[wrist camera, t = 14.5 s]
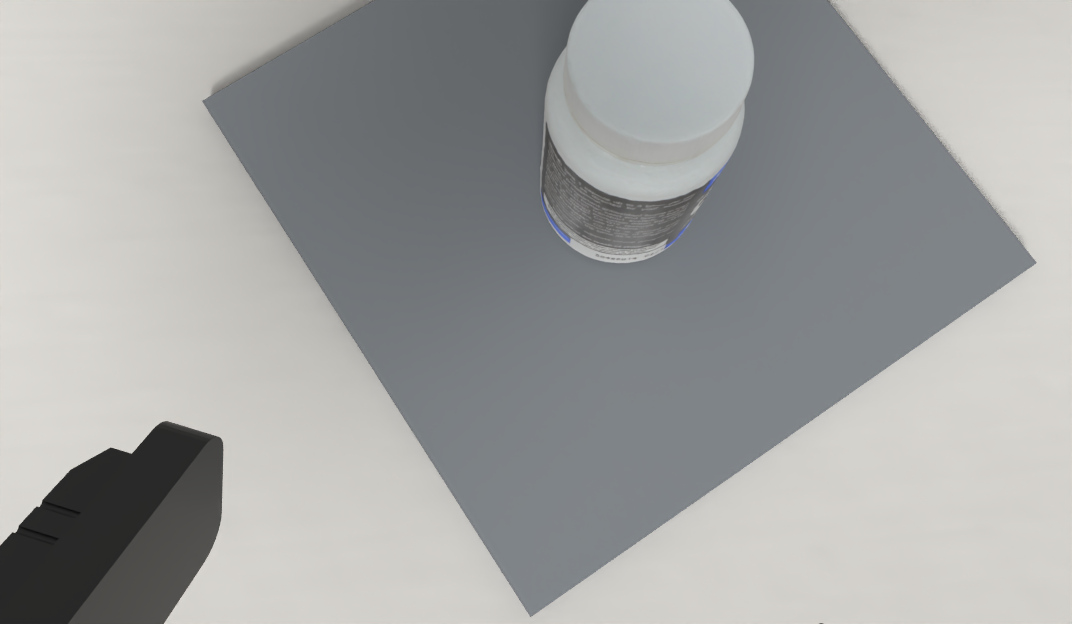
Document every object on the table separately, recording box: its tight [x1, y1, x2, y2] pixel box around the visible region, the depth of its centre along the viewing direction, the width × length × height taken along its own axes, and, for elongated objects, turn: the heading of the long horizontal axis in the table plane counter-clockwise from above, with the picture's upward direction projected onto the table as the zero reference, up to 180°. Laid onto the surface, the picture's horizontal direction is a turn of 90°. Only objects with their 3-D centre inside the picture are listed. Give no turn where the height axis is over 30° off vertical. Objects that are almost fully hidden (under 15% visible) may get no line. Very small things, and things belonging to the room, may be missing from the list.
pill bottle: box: [540, 0, 754, 263], centre depth 23 cm, size 5×5×8 cm
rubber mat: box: [202, 0, 1036, 617], centre depth 28 cm, size 18×18×1 cm
